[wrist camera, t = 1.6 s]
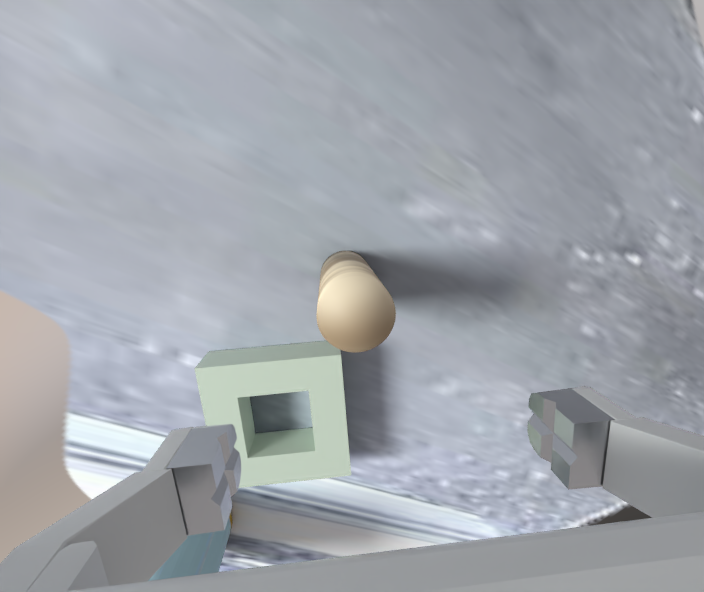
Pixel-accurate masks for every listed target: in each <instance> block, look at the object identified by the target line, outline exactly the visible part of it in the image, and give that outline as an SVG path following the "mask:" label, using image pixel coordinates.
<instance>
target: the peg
mask: <svg viewBox="0 0 704 592" xmlns="http://www.w3.org/2000/svg"><path fill="white" fill-rule="evenodd" d="M395 314H396V312H395V305H394V302H393V299H392V297H391V295H390V294H389V292H388V291H387V290H386V288H385V287H384V285H383V284H382V283H381V281H380V280H379V279H378V277H377V276H376V275H375V273H374V272H373V270H372V269H371V268H370V266H369V265H368V264H367V262H366V261H365V260H364V259H363V258H362V257H361V256H360V255H359V254H357V253H355V252H352V251H339V252H336V253H334V254H332V255H331V256H329V257H328V258H327V259H326V261H325V262H324V264H323V266H322V269H321V275H320V285H319V295H318V305H317V323H318V327H319V330H320V332H321V334H322V335H323V337H324V338H325V339H326V340H327V341H328V342H329V343H330V344H331V345H333V346H334V347H336V348H338V349H340V350H343V351H347V352H364V351H368V350H370V349H373V348H375V347H376V346H378V345H379V344H381V343H382V342H383V341H384V340H385V339H386V338H387V337H388V335H389V334H390V332H391V330H392V328H393V326H394V322H395Z"/></svg>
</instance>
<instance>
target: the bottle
mask: <svg viewBox="0 0 704 592" xmlns="http://www.w3.org/2000/svg"><path fill="white" fill-rule="evenodd" d="M231 527H232V516H231V513H230V516H229V519H228V522H227V525H226V528H225V530H223V531H216V532H210V533H203V534H196V535H189V536H187V539H186V540H185V541H184V542H183V543H182V544H181V545H180V547H179V548H178V549H177V550H176V551H175V552H174V553H173V554H172V555H171V556H170V557H169V558H168V560H167V561H166V562H165V563H164V564H163V565H162V566H161V567H160V568H159V569H158V570H157V571H156V573H155V574H154V575H153V576H152V577H151V578H150V579H149V580H148V581H152V580H160V579H168V578H176V577H184V576H192V575H200V574H208V573H216V572H219V568H220V565H221V562H222V558H223V555H224V552H225V548H226V545H227V542H228V538H229V535H230V531H231Z"/></svg>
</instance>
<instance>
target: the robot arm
mask: <svg viewBox="0 0 704 592" xmlns="http://www.w3.org/2000/svg"><path fill="white" fill-rule="evenodd" d="M529 408H530V410H531V411H532V412H533V415H532V417H531V418H530V419H529V421H528V436H529V439H530V443H531V445H532V447H533V449H534V450H535V452H536V453H537V454H538V455H539V456H540V457H541V458H543V459H545V460H547V461H549V462H551V470H552V471H553V473H554V474H555V475H556V476H557V477H558V478H559V479H560V481H561V482H562V483H563V484H564V485H565V486H566V487H567V488H568V489H578V488H590V487H601V486H603V489H605V490H607V491H608V492H610V493H612V494H613V495H615V496H617V497H618V498H620V499H622V500H624V501H625V502H627V503H629V504H630V505H632V506H634V507H635V508H637V509H639V510H641V511H642V512H644V513H646V514H647V515H649V516H651V517H652V518H649V519H642V520H633V521H625V522H617V523H609V524H600V525H592V526H584V527H576V528H568V529H560V530H552V531H544V532H536V533H528V534H520V535H512V536H504V537H496V538H488V539H480V540H472V541H465V542H457V543H449V544H441V545H433V546H425V547H417V548H409V549H401V550H393V551H385V552H377V553H369V554H361V555H353V556H345V557H337V558H329V559H321V560H313V561H305V562H296V563H288V564H280V565H272V566H264V567H256V568H248V569H240V570H232V571H224V572H216V573H208V574H200V575H192V576H184V577H176V578H168V579H160V580H152V581H148V580H149V579H150V578H151V577H152V576H153V575H154V574H155V573H156V571H157V570H158V569H159V568H160V567H161V566H162V565H163V564H164V563H165V562H166V561H167V560H168V558H169V557H170V556H171V555H172V554H173V553H174V552H175V551H176V550H177V549H178V548H179V547H180V545H181V544H182V543H183V542H184V541H185V540H186V539H187V536H189V535H196V534H203V533H210V532H216V531H223V530H225V528H226V525H227V522H228V519H229V516H230V513H231V509H232V501H231V497H232V496H233V495H234V494H235V493H236V492H237V491H238V487H239V484H240V478H241V458H240V453H239V452H238V451H237V450H236V449H235V448H234V445H235V442H236V440H237V435H236V431H235V427H234V426H233V424H224V425H212V426H200V427H188V428H179V429H174V430H172V431H171V432H170V433H169V434H168V436H167V437H166V439H165V440H164V441H163V443H162V444H161V446H160V447H159V448H158V450H157V451H156V453H155V454H154V455H153V457H152V458H151V459H150V461H149V462H148V464H147V465H146V466H145V468H144V469H143V471H142V472H137V473H134V474H132V475H131V476H129V477H127V478H126V479H124V480H123V481H121V482H119V483H118V484H116V485H115V486H113V487H111V488H110V489H108V490H107V491H105V492H103V493H102V494H100V495H99V496H97V497H95V498H94V499H92V500H91V501H89V502H88V503H86V504H84V505H83V506H81V507H80V508H78V509H77V510H75V511H73V512H72V513H70V514H69V515H67V516H65V517H64V518H62V519H60V520H59V521H57V522H56V523H54V524H52V525H51V526H49V527H48V528H46V529H44V530H43V531H41V532H40V533H38V534H37V535H35V536H33V537H32V538H30V539H29V540H27V541H25V542H24V543H22V544H21V545H19V546H17V547H16V548H15V549H14V550H13V551H12V552H11V553H10V554H9V555H8V556H7V557H6V558H5V559H4V560H3V561H2V562H1V564H0V592H704V436H703V435H699V434H696V433H693V432H689V431H686V430H683V429H680V428H676V427H673V426H670V425H666V424H663V423H660V422H657V421H653V420H650V419H647V418H644V417H639V418H636V417H635V416H633V415H632V414H630V413H629V412H627V411H626V410H624V409H623V408H621V407H620V406H618V405H617V404H615V403H614V402H612V401H610V400H609V399H607V398H606V397H604V396H603V395H601V394H600V393H598V392H597V391H595V390H594V389H592V388H591V387H586V386H582V387H575V388H568V389H561V390H554V391H546V392H538V393H532V394H531V396H530V398H529Z"/></svg>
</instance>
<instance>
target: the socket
mask: <svg viewBox="0 0 704 592" xmlns="http://www.w3.org/2000/svg"><path fill="white" fill-rule="evenodd" d="M195 373H196V378H197V383H198V388H199V393H200V398H201V403H202V408H203V413H204V418H205V423H206V426H212V425H224V424H233V426H234V427H235V431H236V435H237V440H236V442H235V445H234V448H235V449H236V450H237V451H238V452H239V453H240V458H241V478H240V484H239V487H238V488H242V487H251V486H260V485H269V484H278V483H287V482H296V481H305V480H313V479H322V478H331V477H340V476H349V475H351V467H350V456H349V444H348V432H347V420H346V408H345V396H344V385H343V373H342V361H341V350H340V349H338V348H336V347H334V346H333V345H331V344H330V343H329V342H328V341H318V342H307V343H296V344H285V345H274V346H263V347H252V348H241V349H230V350H219V351H209V352H208V353H207V354H206V355H205V357H204V358H203V359H202V360H201V361H200V363H199V364H198V365H197V366H196V367H195ZM300 391H309V398H310V407H311V416H312V425H313V427H312V428H303V429H293V430H283V431H274V432H264V433H255V427H254V421H253V414H252V408H251V402H250V396H260V395H270V394H280V393H290V392H300Z"/></svg>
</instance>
